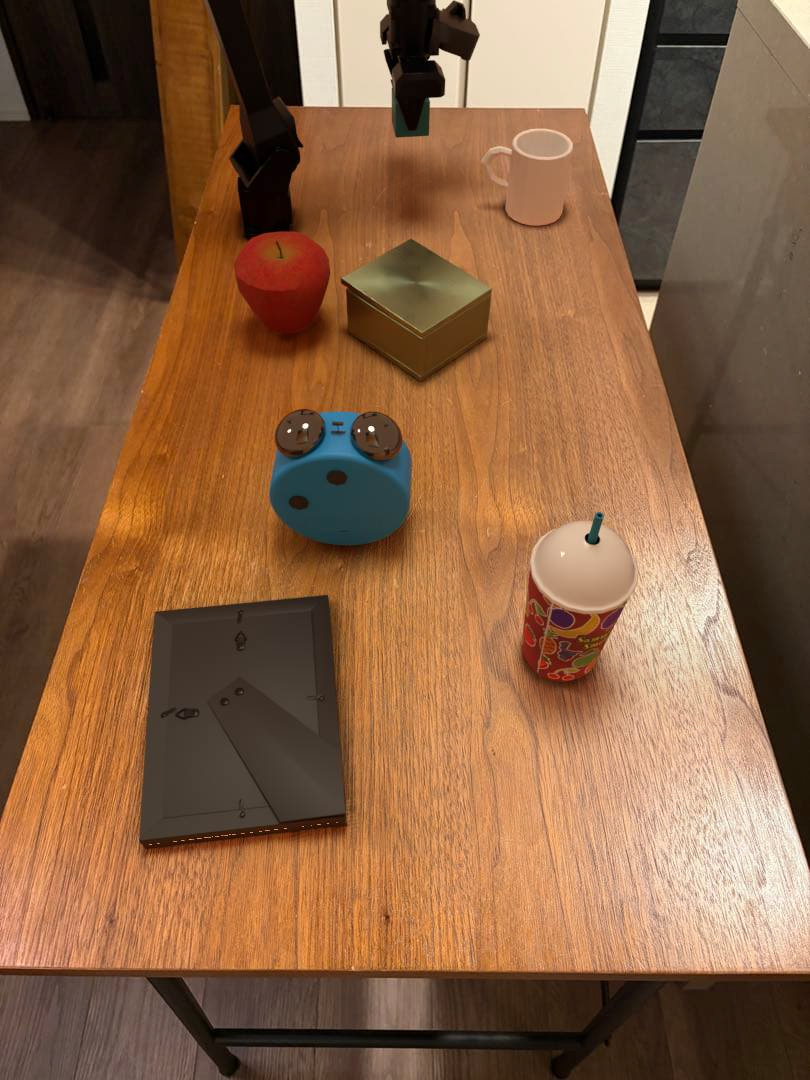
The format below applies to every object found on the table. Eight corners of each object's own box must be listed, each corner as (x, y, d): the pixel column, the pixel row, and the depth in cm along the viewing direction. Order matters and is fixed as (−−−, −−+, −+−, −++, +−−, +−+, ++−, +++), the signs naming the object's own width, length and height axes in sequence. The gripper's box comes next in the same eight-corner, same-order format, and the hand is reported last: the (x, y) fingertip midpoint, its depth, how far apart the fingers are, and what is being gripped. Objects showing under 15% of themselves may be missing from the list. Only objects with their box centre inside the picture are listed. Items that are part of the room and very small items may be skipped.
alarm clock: (411, 505, 87) (413, 397, 75) (408, 552, 83) (410, 447, 72) (284, 500, 87) (267, 391, 76) (276, 547, 84) (257, 441, 72)
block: (395, 137, 115) (395, 103, 111) (391, 121, 118) (391, 87, 114) (429, 136, 115) (430, 101, 112) (424, 119, 118) (425, 85, 114)
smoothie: (579, 713, 73) (630, 581, 57) (494, 667, 76) (521, 529, 60) (618, 642, 77) (675, 501, 62) (536, 601, 80) (571, 456, 64)
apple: (278, 368, 100) (266, 281, 90) (227, 324, 105) (210, 237, 95) (351, 329, 104) (347, 242, 95) (299, 288, 109) (289, 202, 100)
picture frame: (347, 825, 67) (329, 606, 80) (345, 813, 65) (327, 590, 77) (145, 849, 66) (159, 623, 78) (136, 837, 63) (152, 606, 76)
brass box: (348, 332, 104) (345, 288, 99) (414, 291, 109) (415, 248, 104) (420, 381, 99) (422, 338, 94) (487, 337, 104) (491, 294, 99)
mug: (478, 191, 124) (484, 124, 116) (561, 196, 123) (572, 129, 115) (476, 222, 119) (482, 154, 111) (562, 228, 118) (573, 160, 110)
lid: (340, 283, 99) (340, 277, 98) (410, 243, 104) (411, 238, 103) (421, 338, 94) (422, 332, 93) (491, 293, 99) (492, 288, 98)
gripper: (491, 22, 98) (480, 152, 111) (464, -38, 109) (457, 86, 122) (395, 26, 97) (395, 157, 110) (378, -35, 109) (380, 90, 121)
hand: (410, 121), depth 115 cm, fingers closed on block, 4 cm apart
